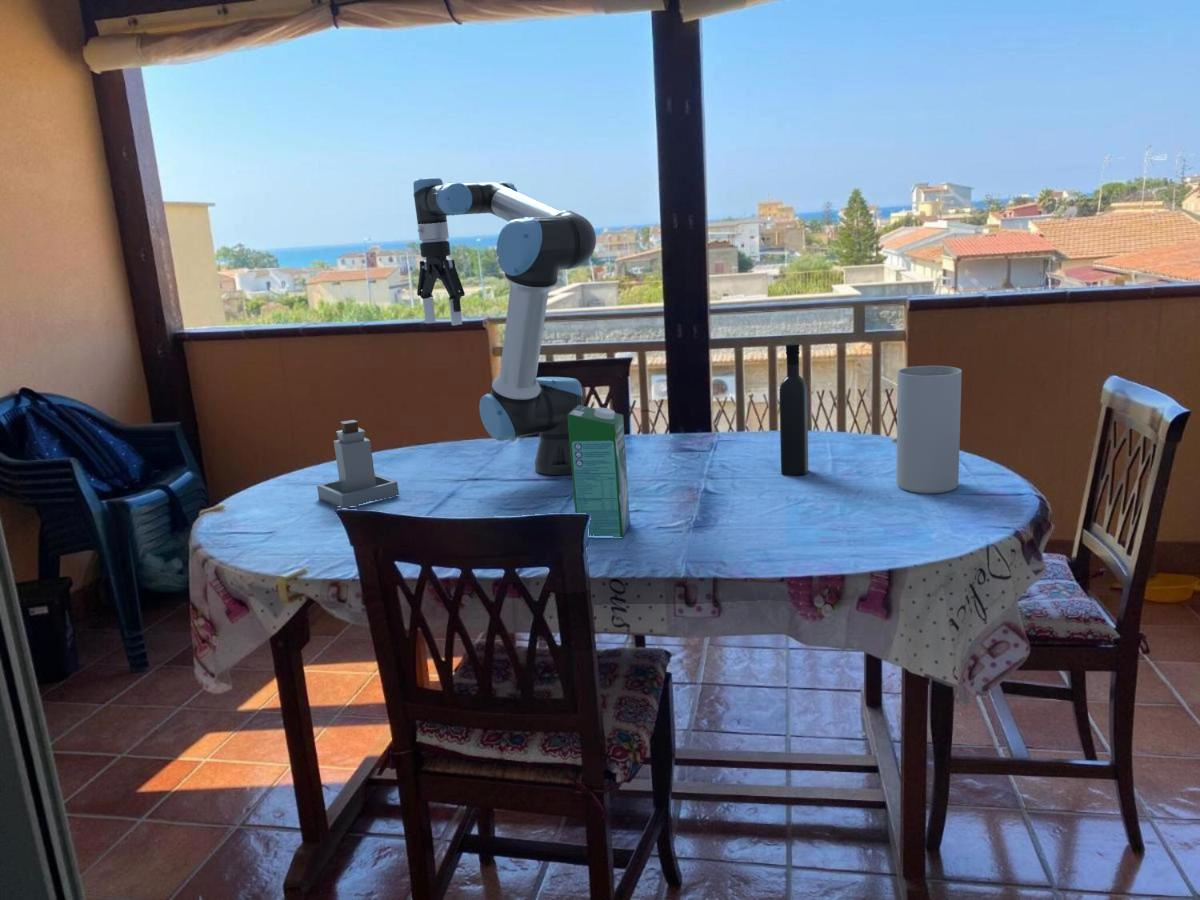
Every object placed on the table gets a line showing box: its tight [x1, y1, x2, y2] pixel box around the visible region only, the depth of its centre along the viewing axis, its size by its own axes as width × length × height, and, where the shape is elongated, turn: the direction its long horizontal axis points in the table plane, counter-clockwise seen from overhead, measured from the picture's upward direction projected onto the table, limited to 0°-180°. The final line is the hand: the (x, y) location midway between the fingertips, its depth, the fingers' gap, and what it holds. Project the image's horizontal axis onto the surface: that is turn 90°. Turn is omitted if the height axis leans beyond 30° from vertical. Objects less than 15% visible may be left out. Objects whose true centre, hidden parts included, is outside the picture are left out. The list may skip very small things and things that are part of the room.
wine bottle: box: [778, 343, 809, 476], centre depth 207 cm, size 6×6×30 cm
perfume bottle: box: [333, 419, 376, 494], centre depth 213 cm, size 7×7×18 cm
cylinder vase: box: [895, 365, 963, 495], centre depth 190 cm, size 12×12×25 cm
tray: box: [316, 473, 400, 509], centre depth 215 cm, size 14×14×4 cm
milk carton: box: [567, 405, 631, 538], centre depth 177 cm, size 9×9×25 cm
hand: (443, 323), depth 237 cm, fingers open, 13 cm apart
